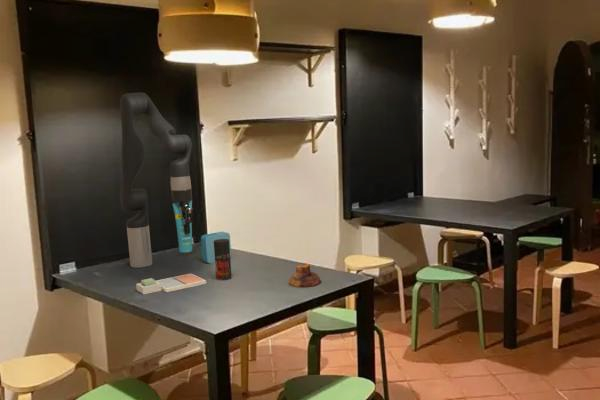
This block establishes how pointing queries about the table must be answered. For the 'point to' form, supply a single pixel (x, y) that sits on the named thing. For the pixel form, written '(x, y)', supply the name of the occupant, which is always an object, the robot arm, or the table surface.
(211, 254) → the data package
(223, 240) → the deodorant
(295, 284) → the bell
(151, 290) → the button frame
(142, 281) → the button
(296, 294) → the table surface
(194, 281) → the picture card
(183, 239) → the tube
